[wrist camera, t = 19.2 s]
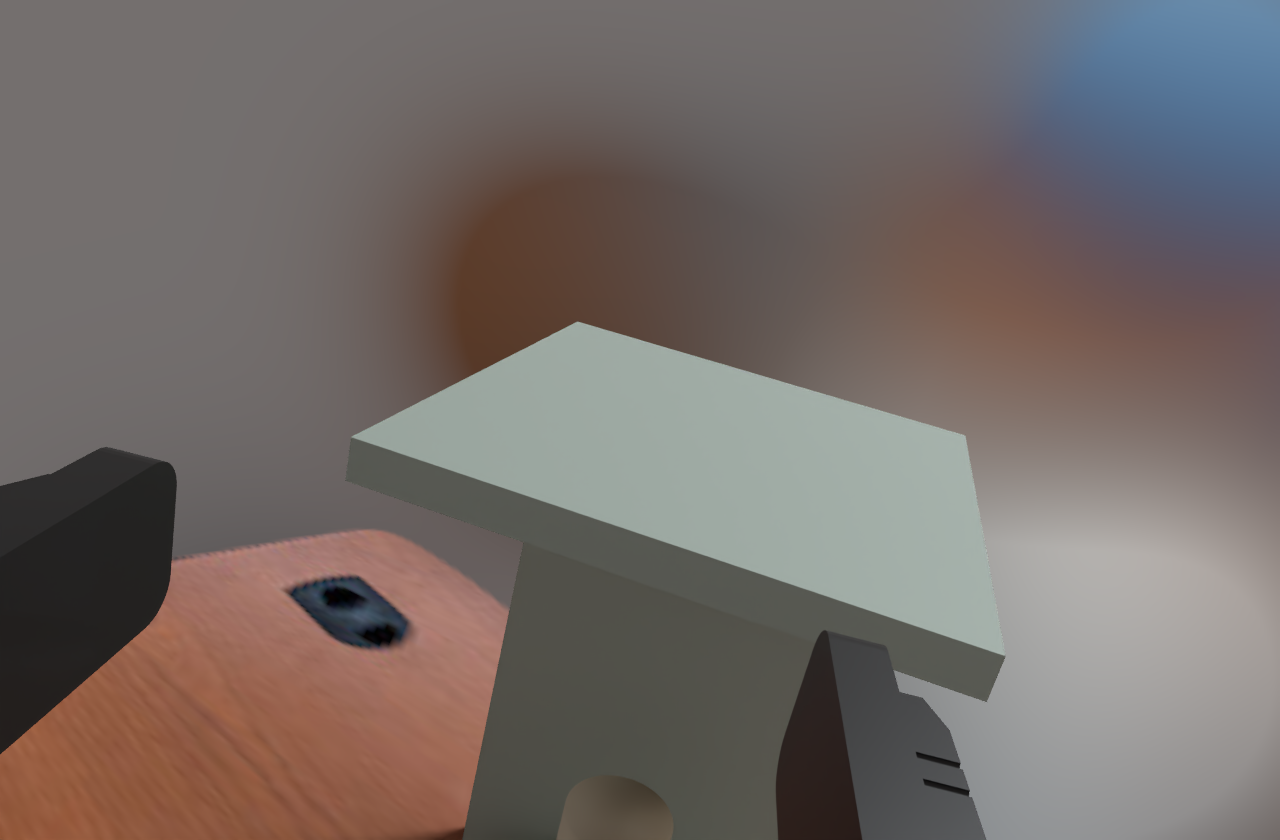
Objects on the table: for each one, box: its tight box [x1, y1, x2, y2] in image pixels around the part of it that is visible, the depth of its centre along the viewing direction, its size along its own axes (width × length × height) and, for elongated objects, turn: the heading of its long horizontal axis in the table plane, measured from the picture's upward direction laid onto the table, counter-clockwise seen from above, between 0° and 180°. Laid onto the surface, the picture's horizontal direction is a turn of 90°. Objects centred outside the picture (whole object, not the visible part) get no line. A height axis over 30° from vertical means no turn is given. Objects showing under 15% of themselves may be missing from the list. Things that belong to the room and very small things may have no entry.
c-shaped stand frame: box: [345, 322, 1005, 840], centre depth 34 cm, size 16×17×27 cm
